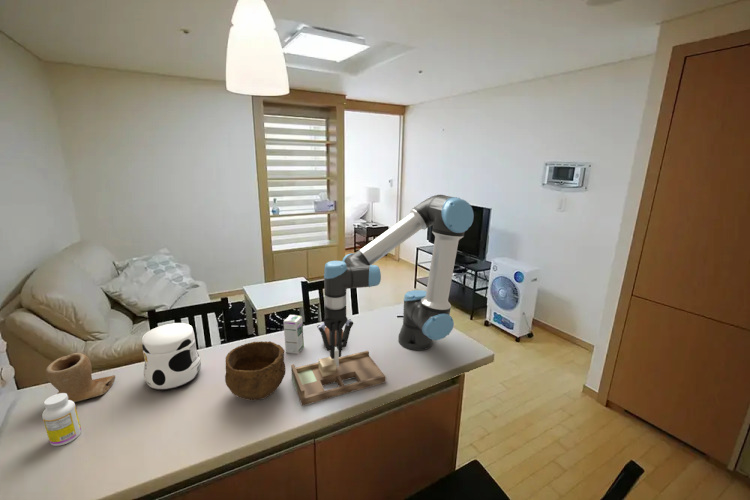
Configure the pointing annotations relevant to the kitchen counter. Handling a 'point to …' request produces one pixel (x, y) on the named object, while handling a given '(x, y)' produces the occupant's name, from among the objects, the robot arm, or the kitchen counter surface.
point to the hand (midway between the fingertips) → (335, 365)
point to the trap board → (336, 378)
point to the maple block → (327, 366)
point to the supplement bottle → (61, 419)
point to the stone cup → (76, 378)
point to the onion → (329, 335)
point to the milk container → (170, 356)
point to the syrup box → (293, 334)
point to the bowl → (255, 370)
